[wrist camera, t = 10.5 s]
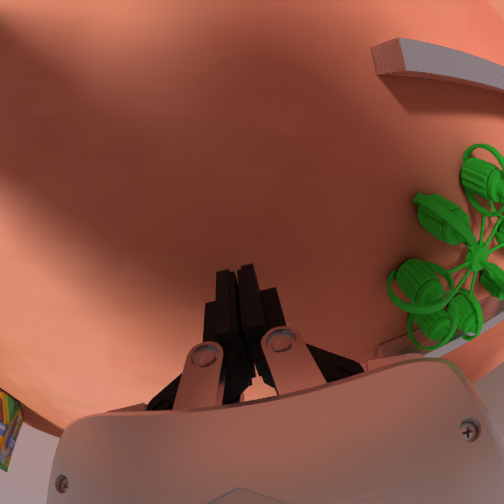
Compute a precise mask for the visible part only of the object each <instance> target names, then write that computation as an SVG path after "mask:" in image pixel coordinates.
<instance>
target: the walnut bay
mask: <svg viewBox="0 0 504 504" xmlns="http://www.w3.org/2000/svg"><path fill="white" fill-rule="evenodd" d="M371 50H372V54H373V59H374V63H375V68H376V73H377V75H391V76H406V77H418V78H427V79H435V80H442V81H448V82H454V83H460V84H465V85H470V86H474V87H479V88H483V89H487V90H491V91H495V92H499V93H502V94H504V67H503V66H501V65H498V64H496V63H493V62H491V61H488V60H485V59H483V58H480V57H477V56H474V55H471V54H468V53H465V52H461V51H458V50H454V49H451V48H447V47H443V46H439V45H435V44H431V43H426V42H421V41H416V40H410V39H404V38H396V39H393V40H390V41H387V42H384V43H381V44H378V45H376V46H373V47H371ZM479 304H480V307H481V310H482V315H483V326H482V330H481V332H480V334H479V335H481V334H482V333H484V332H485V331H487V330H489V329H490V328H492V327H493V326H495V325H496V324H498V323H499V322H501V321H502V320H504V299H503V300H499V299H498V298H496V297H493V296H492V295H490V296H488V297H486V298H484V299H483V300H481V301H479ZM449 320H450V317H449ZM450 321H451V320H450ZM452 325H453V323H452V322H451V327H452ZM451 327H450V329H449V330H451ZM413 334H414V337H415V339H416V341H417V342H418V343H419V344H420V345H422V346H424V347H430V346H434V345H436V344H438V343H440V342H441V341H440V340H436V341H432V340H431V339H430V338H429V337H427V336H426V335H424V333H423V332H422V331H421V329H419V330H417V331H414V332H413ZM465 335H466V333H465V332H464V331H462V330H460V329H459V328H458V327H457V328H456V331H455V333H454V334H453V336H452V337H451V339H450V340H449V341H448V342H447V343H446V344H445V345H443V346H442V347H440V348H438V349H435V350H424V349H421V348H418V347H417V346H415V345H414V344H413V343H412V341H411V339H410V337H409V334H407V335H404V336H402V337H399V338H396V339H394V340H391V341H388V342H386V343H383V344H380V345H378V349H377V354H376V358H377V359H381V358H387V357H393V356H399V355H404V354H409V353H419V354H422V355H423V356H425V357H426V358H439V357H441V356H443V355H445V354H447V353H449V352H451V351H452V350H454V349H456V348H458V347H460V346H462V345H463V344H465V343H467V342H469V341H467V340H464V339H462V337H463V336H465ZM467 335H469V336H474V335H475V333H474V334H473V333H472V332H470V333H467ZM479 335H478V336H479Z"/></svg>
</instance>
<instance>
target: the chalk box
mask: <svg viewBox="0 0 504 504" xmlns="http://www.w3.org/2000/svg"><path fill="white" fill-rule="evenodd" d="M23 420H24V418H23V415H22V412H21V409H20V406H19V403H18V401H16V400H15V399H13V398H12V397H10V396H9V395H7V394H6V393H5V392H3V391H2V390H1V389H0V469H2V470H4V471H6V472H7V470H8V466H9V462H10V459H11V455H12V452H13V449H14V446H15V443H16V439H17V436H18V434H19V431H20V428H21V425H22V423H23Z"/></svg>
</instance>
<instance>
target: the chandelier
mask: <svg viewBox="0 0 504 504" xmlns="http://www.w3.org/2000/svg"><path fill="white" fill-rule="evenodd" d="M478 147H480V148H484V149H486V150H488V151H490V152H491V153H492V154H493V155H494V156H495V157H496V158H497V160H498V161H499V163H500V165H501V167H502V169H503V170H500V169H499V168H498V167H496V166H495V165H494V164H491V163H489V162H486V161H483V160H481V159H478V158H475V157H473V158H469V156H470V154H471V153H472V151H473V150H474V149H476V148H478ZM466 174H467V175H466ZM473 177H474V178H473ZM461 181H462V184H463V186H464V190H465V192H466V195H467V197H468V199H469V200H470V202H471V204H472V205H473V206H474V207H475V208H476V210H478V211H479V212H480V213H481V214H482V223H481V232H480V240H479V241H477V242H475V241H476V238H475V236H474V234H473V233H472V232H471V227H470V220H469V216H468V215H467V214H466V213H465V212H464V211H463V210H462V208H461V207H460V206H458V205H456V204H455V203H453V202H451V201H450V200H448V199H446V198H444V197H442V196H440V195H438V194H430V195H425V194H422V193H420V192H418V193H417V194H416V196H415V197H414V199H413V201H414V203H415V204H417V205H418V206H419V207H418V215H417V216H418V220H419V222H420V224H421V225H422V227H423V228H424V229H426V230H427V231H428V232H430V233H431V234H432V235H434V236H435V237H436V238H438V239H439V240H441V241H444V242H445V243H449V244H450V245H458V244H459V243H461V242H462V243H463V244H465V245H466V246H467V247H468V249H469V251H468V254H467V256H466V260H465V263H463V264H461V265H459V266H457V267H455V268H453V269H450V270H448V271H447V270H446V269H444V268H443V267H441V266H439V265H437V264H435V263H431V262H427V261H420V260H418V259H413V258H412V259H410V260H407V261H406V262H404V263H403V264H402V266H401V267H400V268H399V270H398V269H396V270H394V271H392V272H391V273H390V275H389V277H388V280H387V293H388V296H389V298H390V300H391V301H392V302H393V303H394V304H395V305H396V306H397V307H399V308H400V309H402V310H404V311H407V312H410V314H409V318H408V334H409V337H410V339H411V341H412V343H413V344H414V345H415V346H417V347H418V348H421V349H424V350H435V349H438V348H440V347H442V346H443V345H445V344H446V343H447V342H448V341H449V340H450V339H451V337H452V336H453V334H454V333H455V331H456V328H457V327H458V328H459V329H460V330H462V331H464V332H465V333H466V335H465V336H463V337H462V339H464V340H467V341H470V340H473V339H474V338H476V337H477V336H478V335H479V334H480V332H481V330H482V326H483V315H482V310H481V307H480V304H479V302H478V300H477V299H476V297H475V296H474V295H473V293H472V292H473V288H474V284H475V280H476V275H477V272H478V271H479V270H482V271H483V272H482V274H481V278H480V282H481V284H482V286H483V287H484V288H485V289H486V290H487V291H488V292H489V293H490V294H491V295H492V296H493V297H496V298H498V299H499V300H503V299H504V271H503V270H502V269H501V268H499V267H498V266H497V265H496V264H494V263H489V262H487V259H488V256H489V254H490V253H491V252H493V251H495V250H497V249H499V248H500V247H504V216H503V215H501V213H503V212H504V158H503V156H502V155H501V154H500V153H499V152H498V151H497V150H496V149H495V148H494V147H492V146H490V145H488V144H475V145H472V146H470V147H469V148H468V149H467V150H466V151H465V153H464V155H463V166H462V169H461ZM473 193H474V194H476V195H478V196H480V197H482V198H484V199H486V200H488V201H490V205H491V207H492V209H493V211H494V212H491V211H488V210H486V209H485V208H483V207H482V206H481V205H480V204H479V203H478V201H477V200H476V198H475V197H474V195H473ZM493 201H495V202H499V203H500V204H502V205H503V206H502V208H501V209H500V210H499V211H496V209H495V207H494V204H493ZM427 214H428V215H427ZM485 216H489V217H493V216H498V217H499V220H498V221H497V223H496V225H495V227H494V229H493V231H492V232H491V234H490V236H489V238H488V239H487V241H486V243H484V241H483V234H484V226H485ZM502 220H503V221H502ZM501 221H502V223H501ZM500 223H501V225H500ZM499 225H500V228H499V232H497V231H498V226H499ZM493 235H494V236H495V239H496V240H497V242H498V243H499V245H497V246H495V247H493V248H492V249H490V250H488V248H487V246H488V244H489V242H490V241H491V239H492V237H493ZM474 242H475V243H474ZM465 266H466V268H467V269H468V271H467V273H466V274H465V276H464V277H463V278H462V280H461V281H460V283H459V284H458V285H457V287H456V288H455V289H454V291H453V288H454V283H453V279H452V277H451V275H450V274H451V273H453V272H455V271H457V270H459V269H461V268H463V267H465ZM403 267H404V268H405V269H406V270H405V269H404V268H403ZM472 270H473V271H474V275H473V280H472V284H471V289H470V291H469V290H467V289H464V288H461V289H459V288H460V287H461V285H462V284H463V283H464V281H465V280H466V278H467V277H468V275H469V274H470V273H471V271H472ZM433 271H434V272H436V273H438V274H440V275H441V276H443V277H444V278H445V279H446V281H447V282H448V284H449V288H450V291H449V293H447V292H445V291H443V285H442V284H441V283H440V281H439V279H438V276H437V275H436V274H435V273H434V272H433ZM395 277H396V280H397V284H398V285H399V288H400V289H401V290H402V291H403V292H404V294H405V295H406V296H407V297H408V299H409V300H410V301H411V302H412V304H410V303H407V302H405V301H403V300H401V299H399V298H398V297H397V296H396V295H395V294H394V293H393V291H392V289H391V283H392V281H393V279H394V278H395ZM457 293H462V294H459V295H457V296H455V295H456V294H457ZM442 294H444V295H446V297H445V298H444V299H443V297H442ZM463 294H464V295H463ZM465 295H466V296H467V297H468V298H469V299H470V300H469V299H468V298H467V297H466V296H465ZM453 296H455V297H454V298H453ZM450 300H451V302H450V303H449V301H450ZM448 303H449V305H448V307H447V312H446V311H445V310H444V309H443V307H445V306H446V305H447V304H448ZM448 316H449V317H450V320H451V321H450V320H449V317H448ZM413 319H414V321H415V322H416V324H417V325H418V326H419V328H420V329H421V331H422V332H423V333H424V335H426V336H427V337H429V338H430V339H431V340H432V341H436V340H440V341H441V342H440V343H438V344H436V345H434V346H430V347H424V346H422V345H420V344H419V343H418V342H417V341H416V339H415V337H414V334H413ZM451 322H452V323H453V325H452V327H451ZM450 327H451V330H449V329H450ZM470 332H472V333H473V334H474V333H475V335H474V336H469V335H467V333H470Z"/></svg>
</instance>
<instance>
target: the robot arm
mask: <svg viewBox="0 0 504 504" xmlns="http://www.w3.org/2000/svg"><path fill="white" fill-rule="evenodd" d="M237 275H238V283H237V279H236V276H235V273H234V271H232V272H230V271H229V269H227V270H222V271H218V272H217V273H216V301H212V302H208V303H206V305H205V317H204V331H203V342H202V343H200V344H197V345H196V346H194V347H193V348H192V349H191V350H190V351H189V353H188V355H187V358H186V361H185V365H184V369H183V372H182V373H181V374H180V375H179V376H178V377H177V378H176V379H175V380H173V381H172V382H171V383H170V384H169V385H168V386H167V387H165V388H164V389H163V390H162V391H161V392H160V393H158V394H157V395H156V396H155V397H154V398H153V399H152V400H151V401H150V402H149V404H147V405H146V404H145V403H141V404H137V405H133V406H129V407H124V408H120V409H116V410H111V411H107V412H105V413H99V414H93V415H89V416H85V417H82V418H80V419H77V420H75V421H73V422H72V423H70V424H69V425H68V426H67V427H66V428H65V430H64V432H63V433H62V436H61V438H60V441H59V443H58V447H57V450H56V453H55V457H54V461H53V465H52V470H51V475H50V482H49V487H48V495H47V503H46V504H504V441H503V439H502V436H501V434H500V432H499V430H498V428H497V426H496V424H495V422H494V420H493V418H492V416H491V414H490V412H489V410H488V408H487V407H486V405H485V403H484V401H483V400H482V398H481V397H480V395H479V394H478V392H477V390H476V389H475V387H474V386H473V384H472V383H471V382H470V380H469V379H468V378H467V376H466V375H465V374H464V373H463V372H462V371H461V370H460V369H459V368H458V367H457V366H456V365H455V364H454V363H452V362H450V361H448V360H445V359H442V358H426V357H425V356H423V355H422V354H419V353H409V354H404V355H399V356H393V357H387V358H381V359H374V360H367V363H364V364H359V363H357V362H355V361H353V360H350V359H348V358H345V357H342V356H339V355H336V354H333V353H331V352H328V351H325V350H322V349H320V348H317V347H314V346H311V345H309V344H306V343H305V342H304V341H303V339H302V337H301V335H300V333H299V332H298V331H297V330H296V329H294V328H292V327H288V326H286V323H285V319H284V315H283V312H282V308H281V304H280V301H279V297H278V294H277V290H276V287H274V288H270V289H266V290H261V291H260V289H259V285H258V281H257V277H256V274H255V270H254V266H253V263H252V264H248V265H244V266H241V270H237ZM254 363H255V366H256V369H257V371H258V374H259V376H262V378H263V381H264V383H266V384H267V385H269V386H271V387H273V388H275V391H276V394H277V396H272V397H267V398H262V399H257V400H251V401H245V402H244V393H243V391H244V390H245V389H246V388H247V387H248V386H250V385H252V378H254V377H256V374H255V366H254Z"/></svg>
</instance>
